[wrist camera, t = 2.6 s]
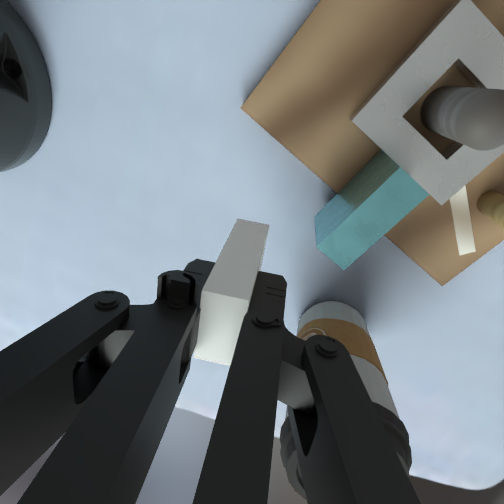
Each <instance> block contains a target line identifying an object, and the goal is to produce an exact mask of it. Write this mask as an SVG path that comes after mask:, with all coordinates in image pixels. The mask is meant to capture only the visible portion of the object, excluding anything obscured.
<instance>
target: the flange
mask: <svg viewBox="0 0 504 504" xmlns="http://www.w3.org/2000/svg"><path fill="white" fill-rule="evenodd" d="M453 63H454V64H455V65H456V66H457V67H458V68H459V69H460V70H461V71H462V72H463V73H464V74H465V75H466V76H467V77H468V78H469V79H470V80H471V82H472V83H473V84H474V85H475V86H476V87H477V88H488V89H502V90H504V37H503V35H502V34H501V33H500V32H499V31H498V30H497V29H496V28H495V27H494V25H493V24H492V23H491V22H490V21H489V20H488V19H487V18H486V17H485V15H484V14H483V13H482V12H481V11H480V10H479V9H478V8H477V7H476V5H475V4H474V3H473V2H472V1H471V0H456V1H455V2H454V3H453V4H452V5H451V6H450V8H449V9H448V10H447V11H446V12H445V13H444V14H443V15H442V16H441V18H440V19H439V20H438V21H437V22H436V23H435V24H434V25H433V26H432V28H431V29H430V30H429V31H428V32H427V33H426V34H425V35H424V36H423V37H422V39H421V40H420V41H419V42H418V43H417V44H416V45H415V46H414V47H413V49H412V50H411V51H410V52H409V53H408V54H407V55H406V56H405V57H404V59H403V60H402V61H401V62H400V63H399V64H398V65H397V66H396V67H395V68H394V70H393V71H392V72H391V73H390V74H389V75H388V76H387V77H386V78H385V80H384V81H383V82H382V83H381V84H380V85H379V86H378V87H377V88H376V90H375V91H374V92H373V93H372V94H371V95H370V96H369V97H368V98H367V99H366V101H365V102H364V103H363V104H362V105H361V106H360V107H359V108H358V109H357V111H356V112H355V113H354V114H353V115H352V116H351V117H350V118H349V119H350V120H351V121H352V122H353V123H354V124H355V125H356V126H357V127H359V128H360V129H361V130H362V131H363V132H364V133H365V134H366V135H367V136H368V137H369V138H370V139H371V140H372V141H373V142H374V143H376V144H377V145H378V146H379V147H380V148H381V150H380V151H379V152H378V153H377V154H376V155H375V156H374V157H373V158H372V159H371V160H370V161H369V162H368V163H367V164H366V165H365V166H364V167H363V168H362V169H361V170H360V171H359V172H358V173H357V174H356V175H355V176H354V177H353V178H352V179H351V180H350V181H349V182H348V183H347V184H346V185H345V186H344V187H343V188H342V189H341V190H340V191H339V192H338V193H337V194H336V195H335V196H334V197H333V198H332V200H331V201H330V202H329V203H328V204H327V205H326V206H325V207H324V208H323V209H322V210H321V211H320V212H319V213H318V214H317V215H316V216H315V230H316V245H317V248H318V249H319V250H320V251H321V252H323V253H324V254H325V255H326V256H327V257H329V258H330V259H331V260H332V261H333V262H335V263H336V264H337V265H338V266H339V267H341V268H342V269H343V270H345V269H346V268H347V267H348V266H350V265H351V264H352V263H353V262H354V261H355V260H356V259H357V258H359V257H360V256H361V255H362V254H363V253H364V252H365V251H366V250H368V249H369V248H370V247H371V246H372V245H373V244H374V243H376V242H377V241H378V240H379V239H380V238H381V237H382V236H383V235H385V234H386V233H387V232H388V231H389V230H390V229H391V228H392V227H394V226H395V225H396V224H397V223H398V222H399V221H400V220H401V219H403V218H404V217H405V216H406V215H407V214H408V213H409V212H410V211H412V210H413V209H414V208H415V207H416V206H417V205H418V204H419V203H421V202H422V201H423V200H424V199H425V198H426V197H427V196H428V195H431V196H432V197H433V198H434V199H435V200H436V201H437V202H438V203H439V204H440V205H441V206H442V205H443V204H444V203H445V202H446V201H448V200H449V199H450V198H451V197H452V196H453V195H455V194H456V193H457V192H458V191H459V190H460V189H462V188H463V187H464V186H465V185H466V184H467V183H468V182H470V181H471V180H472V179H473V178H474V177H475V176H477V175H478V174H479V173H480V172H481V171H482V170H484V169H485V168H486V167H487V166H488V165H489V164H491V163H492V162H493V161H494V160H495V159H496V158H498V157H499V156H500V155H501V154H502V153H503V152H504V144H503V145H502V146H500V147H498V148H495V149H492V150H486V151H481V150H475V149H473V148H470V147H468V146H466V145H463V144H461V143H459V142H456V141H455V142H454V143H453V144H452V145H451V146H450V147H449V148H448V149H447V150H446V151H444V152H443V153H442V154H440V153H439V152H438V151H437V150H436V149H435V148H434V147H433V146H432V145H431V144H430V143H429V142H428V141H427V140H426V139H425V138H424V137H423V136H422V135H421V134H420V133H419V132H418V131H417V130H416V129H415V128H413V127H412V126H411V125H410V124H409V123H408V122H407V121H406V120H405V119H404V118H403V117H402V116H403V115H404V114H405V113H406V112H407V111H408V110H409V109H410V108H411V107H412V106H413V105H414V104H415V103H416V102H417V101H418V99H419V98H420V97H421V96H422V95H423V94H424V93H425V92H426V91H427V90H428V89H429V88H430V87H431V86H432V85H433V84H434V83H435V82H436V81H437V80H438V79H439V78H440V77H441V76H442V75H443V74H444V73H445V72H446V71H447V70H448V69H449V68H450V67H451V66H452V64H453ZM425 190H426V191H427V192H428V193H427V192H426V191H425Z"/></svg>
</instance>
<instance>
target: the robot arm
mask: <svg viewBox="0 0 504 504" xmlns="http://www.w3.org/2000/svg"><path fill="white" fill-rule="evenodd" d="M51 107H52V100H51V88H50V82H49V77H48V73H47V69H46V66H45V63H44V60H43V57H42V55H41V52H40V50H39V48H38V46H37V44H36V42H35V40H34V38H33V36H32V34H31V32H30V31H29V29H28V28H27V26H26V25H25V23H24V22H23V20H22V19H21V18H20V16H19V15H18V14H17V12H16V11H15V10H14V9H13V8H12V7H11V5H10V4H9V3H8V2H7V1H6V0H0V172H3V171H6V170H9V169H12V168H15V167H17V166H19V165H21V164H23V163H25V162H26V161H27V160H29V159H30V158H31V157H32V156H33V155H34V154H35V153H36V152H37V150H38V149H39V148H40V146H41V144H42V143H43V141H44V139H45V136H46V134H47V131H48V128H49V124H50V118H51ZM268 229H269V225H267V224H262V223H257V222H252V221H247V220H242V219H237V221H236V223H235V225H234V227H233V229H232V231H231V233H230V235H229V237H228V239H227V241H226V243H225V245H224V247H223V249H222V251H221V253H220V255H219V257H218V259H217V261H216V263H214V262H209V261H205V260H200V259H196V260H194V261H192V262H190V263H188V265H187V266H186V268H185V269H184V271H180V270H173V271H167V272H164V273H162V274H161V275H159V276H158V288H157V299H156V301H155V302H154V304H149V305H130V300H129V298H128V297H127V296H126V295H124V294H123V293H121V292H117V291H101V292H97V293H94V294H92V295H90V296H88V297H87V298H85V299H83V300H82V301H80V302H79V303H77V304H75V305H74V306H72V307H71V308H69V309H67V310H66V311H64V312H62V313H61V314H59V315H58V316H56V317H54V318H53V319H51V320H50V321H48V322H46V323H45V324H43V325H42V326H40V327H38V328H37V329H35V330H34V331H32V332H30V333H29V334H27V335H26V336H24V337H22V338H21V339H19V340H18V341H16V342H14V343H13V344H11V345H10V346H8V347H6V348H5V349H3V350H2V351H0V496H1V495H2V494H3V493H4V492H5V491H6V490H7V489H8V488H9V487H10V486H11V485H12V484H13V483H14V482H15V481H16V480H17V479H18V478H19V477H20V476H21V475H22V474H23V473H24V472H25V471H26V470H27V469H28V468H29V467H30V466H31V465H32V464H33V463H34V462H35V461H36V460H37V459H38V458H40V457H41V455H43V454H44V453H45V452H46V451H47V450H48V449H49V448H50V447H51V446H52V445H53V444H54V443H55V442H56V441H57V440H58V439H59V438H60V437H61V436H62V435H63V434H64V433H65V432H66V433H65V434H64V435H63V437H62V438H61V440H60V441H59V443H58V444H57V446H56V447H55V449H54V450H53V452H52V453H51V455H50V456H49V458H48V459H47V460H46V462H45V463H44V465H43V466H42V468H41V469H40V471H39V472H38V474H37V475H36V477H35V478H34V479H33V481H32V483H31V484H30V485H29V487H28V488H27V490H26V491H25V493H24V494H23V496H22V497H21V499H20V500H19V501H18V503H17V504H135V503H136V501H137V498H138V495H139V493H140V491H141V488H142V486H143V483H144V481H145V478H146V476H147V473H148V471H149V469H150V466H151V463H152V461H153V459H154V456H155V454H156V451H157V449H158V446H159V444H160V441H161V439H162V436H163V434H164V431H165V429H166V426H167V423H168V421H169V419H170V416H171V414H172V411H173V409H174V407H175V404H176V402H177V399H178V397H179V394H180V392H181V389H182V387H183V384H184V382H185V379H186V377H187V374H188V372H189V369H190V362H191V356H192V354H193V351H194V349H195V352H194V358H197V359H201V360H206V361H210V362H215V363H219V364H224V365H228V366H230V369H229V373H228V376H227V380H226V384H225V387H224V391H223V394H222V398H221V402H220V405H219V409H218V413H217V416H216V420H215V424H214V427H213V431H212V435H211V439H210V442H209V446H208V449H207V453H206V457H205V460H204V464H203V467H202V471H201V475H200V478H199V482H198V486H197V489H196V493H195V497H194V500H193V504H267V500H268V489H269V478H270V469H271V459H272V448H273V439H274V429H275V419H276V408H277V400H279V401H281V402H283V403H285V404H286V405H287V411H288V416H289V420H290V425H291V430H292V434H293V439H294V443H295V448H296V452H297V457H298V461H299V466H300V471H301V475H302V480H303V484H304V489H305V493H306V498H307V502H308V504H421V503H420V501H419V499H418V497H417V495H416V493H415V491H414V489H413V486H412V484H411V482H410V480H409V478H408V476H407V474H406V472H405V470H404V468H403V465H402V463H401V461H400V459H399V457H398V455H397V453H396V451H395V449H394V446H393V444H392V442H391V440H390V438H389V436H388V434H387V432H386V430H385V428H384V425H383V423H382V421H381V419H380V417H379V415H378V413H377V411H376V409H375V407H374V404H373V402H372V400H371V398H370V396H369V394H368V392H367V390H366V388H365V385H364V383H363V381H362V379H361V377H360V375H359V373H358V371H357V369H356V367H355V364H354V362H353V360H352V358H351V356H350V354H349V352H348V350H347V349H346V347H345V346H344V345H343V344H342V343H341V342H339V341H338V340H337V339H334V338H332V337H330V336H325V335H313V336H311V337H309V338H308V339H307V340H306V341H305V340H303V339H300V338H298V337H296V336H295V335H293V334H292V333H291V332H289V331H288V330H287V328H286V327H285V325H284V321H283V318H284V308H285V297H286V288H287V282H286V281H285V279H284V277H283V276H281V275H276V274H271V273H267V272H262V271H260V270H261V265H262V260H263V254H264V249H265V244H266V239H267V234H268Z"/></svg>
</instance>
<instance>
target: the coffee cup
mask: <svg viewBox="0 0 504 504" xmlns="http://www.w3.org/2000/svg"><path fill="white" fill-rule="evenodd" d="M313 335H325V336H330V337H332V338H334V339H337V340H338V341H339V342H341V343H342V344H343V345H344V346H345V347H346V349H347V350H348V352H349V354H350V356H351V358H352V360H353V362H354V364H355V367H356V369H357V371H358V373H359V375H360V377H361V379H362V381H363V383H364V385H365V388H366V390H367V392H368V394H369V396H370V398H371V400H372V402H373V404H374V407H375V409H376V411H377V413H378V415H379V417H380V419H381V421H382V423H383V425H384V428H385V430H386V432H387V434H388V436H389V438H390V440H391V442H392V444H393V446H394V449H395V451H396V453H397V455H398V457H399V459H400V461H401V463H402V465H403V468H404V470H405V472H406V474H407V476H408V478H409V470H410V467H411V464H412V458H411V448H410V446H409V434H408V432H407V430H406V428H405V426H404V424H403V422H402V421H401V420H400V419H399V416H398V413H397V410H396V407H395V405H394V402H393V399H392V396H391V394H390V391H389V388H388V382H387V379H386V376H385V374H384V371H383V368H382V366H381V363H380V360H379V357H378V355H377V352H376V349H375V346H374V344H373V342H372V340H371V337H370V335H369V332H368V330H367V327H366V324H365V322H364V320H363V317H362V316H361V315H360V314H359V312H358V311H357V310H355V309H354V308H352V307H351V306H349V305H347V304H345V303H342V302H338V301H324V302H321V303H318V304H315V305H314V306H312V307H310V308H309V309H308V310H307V311H306V312H305V313H304V314H303V315H302V316H301V318H300V321H299V323H298V329H297V337H298V338H300V339H303V340H305V341H306V340H307V339H308V338H309V337H311V336H313ZM280 442H281V458H282V461H283V465H284V467H285V469H286V472H287V476H288V480H289V482H290V484H291V485H292V487H293V488H294V490H295V491H296V492H297V493H298V494H299V495H301V496H302V497H303V498H304V499H306V500H307V498H306V493H305V489H304V484H303V480H302V475H301V471H300V466H299V461H298V457H297V452H296V448H295V443H294V439H293V434H292V430H291V425H290V420H289V416H288V411H287V410H286V418H285V421H284V423H283V425H282V427H281V433H280Z"/></svg>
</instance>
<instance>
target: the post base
mask: <svg viewBox="0 0 504 504" xmlns="http://www.w3.org/2000/svg"><path fill="white" fill-rule="evenodd" d="M455 1H456V0H321V1H320V2H319V3H318V5H317V6H316V7H315V9H314V10H313V11H312V13H311V14H310V15H309V17H308V18H307V19H306V21H305V22H304V23H303V25H302V26H301V27H300V29H299V30H298V31H297V33H296V34H295V35H294V37H293V38H292V39H291V41H290V42H289V43H288V45H287V46H286V48H285V49H284V50H283V52H282V53H281V54H280V56H279V57H278V58H277V60H276V61H275V62H274V64H273V65H272V66H271V68H270V69H269V70H268V72H267V73H266V74H265V76H264V77H263V78H262V80H261V81H260V82H259V84H258V85H257V86H256V88H255V89H254V90H253V92H252V93H251V94H250V96H249V97H248V98H247V100H246V101H245V102H244V104H243V105H242V106H241V109H242V110H243V111H244V112H246V113H247V114H248V115H249V116H250V117H251V118H252V119H253V120H255V121H256V122H257V123H258V124H259V125H260V126H261V127H263V128H264V129H265V130H266V131H267V132H268V133H269V134H270V135H272V136H273V137H274V138H275V139H276V140H277V141H278V142H280V143H281V144H282V145H283V146H284V147H285V148H286V149H287V150H289V151H290V152H291V153H292V154H293V155H294V156H295V157H297V158H298V159H299V160H300V161H301V162H302V163H303V164H304V165H306V166H307V167H308V168H309V169H310V170H311V171H312V172H314V173H315V174H316V175H317V176H318V177H319V178H320V179H321V180H323V181H324V182H325V183H326V184H327V185H328V186H329V187H331V188H332V189H333V190H334V191H335V192H336V193H338V192H339V191H340V190H341V189H342V188H343V187H344V186H345V185H346V184H347V183H348V182H349V181H350V180H351V179H352V178H353V177H354V176H355V175H356V174H357V173H358V172H359V171H360V170H361V169H362V168H363V167H364V166H365V165H366V164H367V163H368V162H369V161H370V160H371V159H372V158H373V157H374V156H375V155H376V154H377V153H378V152H379V151H380V150H381V148H380V147H379V146H378V145H377V144H376V143H374V142H373V141H372V140H371V139H370V138H369V137H368V136H367V135H366V134H365V133H364V132H363V131H362V130H361V129H360V128H359V127H357V126H356V125H355V124H354V123H353V122H352V121H351V120H350V119H349V118H350V117H351V116H352V115H353V114H354V113H355V112H356V111H357V109H358V108H359V107H360V106H361V105H362V104H363V103H364V102H365V101H366V99H367V98H368V97H369V96H370V95H371V94H372V93H373V92H374V91H375V90H376V88H377V87H378V86H379V85H380V84H381V83H382V82H383V81H384V80H385V78H386V77H387V76H388V75H389V74H390V73H391V72H392V71H393V70H394V68H395V67H396V66H397V65H398V64H399V63H400V62H401V61H402V60H403V59H404V57H405V56H406V55H407V54H408V53H409V52H410V51H411V50H412V49H413V47H414V46H415V45H416V44H417V43H418V42H419V41H420V40H421V39H422V37H423V36H424V35H425V34H426V33H427V32H428V31H429V30H430V29H431V28H432V26H433V25H434V24H435V23H436V22H437V21H438V20H439V19H440V18H441V16H442V15H443V14H444V13H445V12H446V11H447V10H448V9H449V8H450V6H451V5H452V4H453V3H454V2H455ZM471 1H472V2H473V3H474V4H475V5H476V7H477V8H478V9H479V10H480V11H481V12H482V13H483V14H484V15H485V17H486V18H487V19H488V20H489V21H490V22H491V23H492V24H493V25H494V27H495V28H496V29H497V30H498V31H499V32H500V33H501V34H502V35H503V37H504V0H471ZM402 117H403V118H404V119H405V120H406V121H407V122H408V123H409V124H410V125H411V126H412V127H413V128H415V129H416V130H417V131H418V132H419V133H420V134H421V135H422V136H423V137H424V138H425V139H426V140H427V141H428V142H429V143H430V144H431V145H432V146H433V147H434V148H435V149H436V150H437V151H438V152H439V153H440V154H442V153H443V152H444V151H446V150H447V149H448V148H449V147H450V146H451V145H452V144H453V143H454V142H455V141H456V142H459V143H461V144H463V145H466V146H468V147H470V148H473V149H475V150H481V151H486V150H492V149H495V148H498V147H500V146H502V145H503V144H504V90H502V89H488V88H477V87H476V86H475V85H474V84H473V83H472V82H471V80H470V79H469V78H468V77H467V76H466V75H465V74H464V73H463V72H462V71H461V70H460V69H459V68H458V67H457V66H456V65H455V64H454V63H453V64H452V66H451V67H450V68H449V69H448V70H447V71H446V72H445V73H444V74H443V75H442V76H441V77H440V78H439V79H438V80H437V81H436V82H435V83H434V84H433V85H432V86H431V87H430V88H429V89H428V90H427V91H426V92H425V93H424V94H423V95H422V96H421V97H420V98H419V99H418V101H417V102H416V103H415V104H414V105H413V106H412V107H411V108H410V109H409V110H408V111H407V112H406V113H405V114H404V115H403V116H402ZM425 191H426V190H425ZM426 192H427V191H426ZM427 193H428V192H427ZM385 236H386V237H387V238H388V239H389V240H391V241H392V242H393V243H394V244H395V245H396V246H397V247H398V248H400V249H401V250H402V251H403V252H404V253H405V254H406V255H408V256H409V257H410V258H411V259H412V260H413V261H414V262H415V263H417V264H418V265H419V266H420V267H421V268H422V269H423V270H425V271H426V272H427V273H428V274H429V275H430V276H431V277H432V278H434V279H435V280H436V281H437V282H438V283H439V284H440V285H441V286H443V285H444V284H446V283H447V282H448V281H450V280H451V279H452V278H454V277H455V276H456V275H458V274H459V273H460V272H462V271H463V270H464V269H466V268H467V267H468V266H470V265H471V264H472V263H474V262H475V261H476V260H478V259H479V258H480V257H482V256H483V255H484V254H486V253H487V252H488V251H490V250H491V249H492V248H494V247H495V246H496V245H497V244H499V243H500V242H501V241H503V240H504V152H503V153H502V154H501V155H500V156H499V157H498V158H496V159H495V160H494V161H493V162H492V163H491V164H489V165H488V166H487V167H486V168H485V169H484V170H482V171H481V172H480V173H479V174H478V175H477V176H475V177H474V178H473V179H472V180H471V181H470V182H468V183H467V184H466V185H465V186H464V187H463V188H462V189H460V190H459V191H458V192H457V193H456V194H455V195H453V196H452V197H451V198H450V199H449V200H448V201H446V202H445V203H444V204H443V205H442V206H441V205H440V204H439V203H438V202H437V201H436V200H435V199H434V198H433V197H432V196H431V195H428V196H427V197H426V198H425V199H424V200H423V201H422V202H421V203H419V204H418V205H417V206H416V207H415V208H414V209H413V210H412V211H410V212H409V213H408V214H407V215H406V216H405V217H404V218H403V219H401V220H400V221H399V222H398V223H397V224H396V225H395V226H394V227H392V228H391V229H390V230H389V231H388V232H387V233H386V234H385Z"/></svg>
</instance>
